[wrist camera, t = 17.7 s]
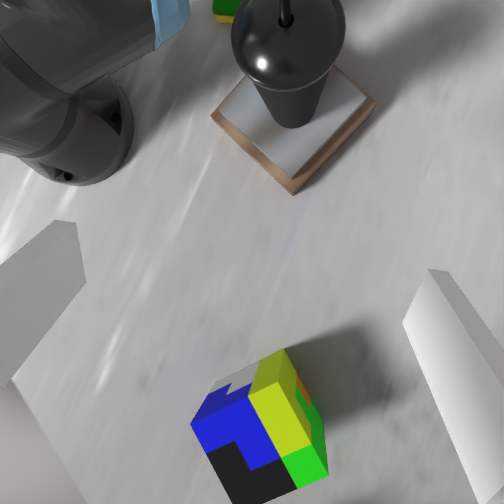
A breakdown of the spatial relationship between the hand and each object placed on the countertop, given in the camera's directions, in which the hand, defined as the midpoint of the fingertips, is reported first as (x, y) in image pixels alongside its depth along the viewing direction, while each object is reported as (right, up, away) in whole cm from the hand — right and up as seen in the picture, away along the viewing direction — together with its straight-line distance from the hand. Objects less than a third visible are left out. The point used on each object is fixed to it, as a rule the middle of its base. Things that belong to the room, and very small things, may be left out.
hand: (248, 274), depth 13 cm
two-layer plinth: (+5, +17, +28) cm, 33 cm away
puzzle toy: (+2, -18, +31) cm, 36 cm away
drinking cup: (+4, +16, +24) cm, 29 cm away
